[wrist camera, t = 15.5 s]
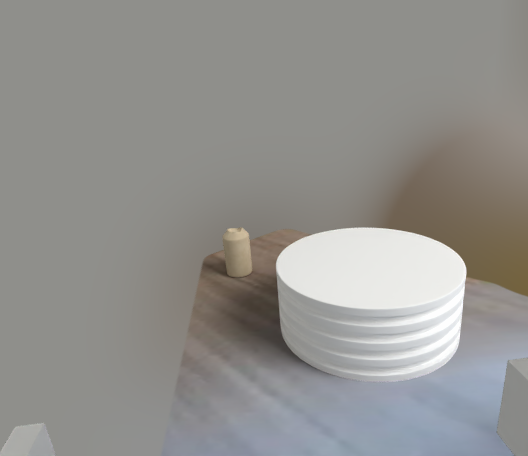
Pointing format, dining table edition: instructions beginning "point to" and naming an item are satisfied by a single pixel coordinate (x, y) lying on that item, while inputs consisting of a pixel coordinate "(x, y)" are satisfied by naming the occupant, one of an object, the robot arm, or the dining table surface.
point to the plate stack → (371, 303)
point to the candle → (237, 252)
